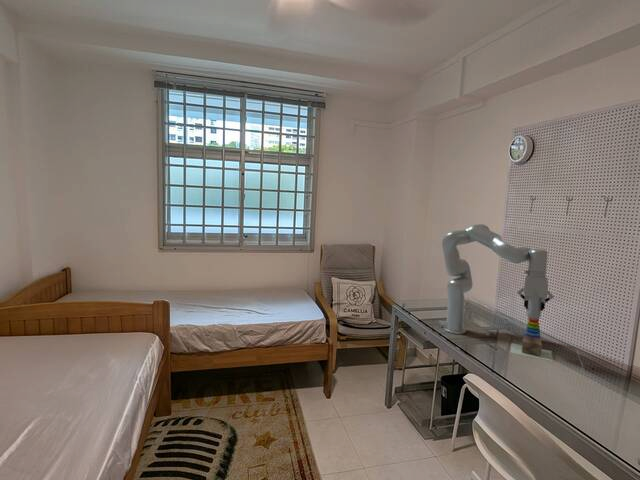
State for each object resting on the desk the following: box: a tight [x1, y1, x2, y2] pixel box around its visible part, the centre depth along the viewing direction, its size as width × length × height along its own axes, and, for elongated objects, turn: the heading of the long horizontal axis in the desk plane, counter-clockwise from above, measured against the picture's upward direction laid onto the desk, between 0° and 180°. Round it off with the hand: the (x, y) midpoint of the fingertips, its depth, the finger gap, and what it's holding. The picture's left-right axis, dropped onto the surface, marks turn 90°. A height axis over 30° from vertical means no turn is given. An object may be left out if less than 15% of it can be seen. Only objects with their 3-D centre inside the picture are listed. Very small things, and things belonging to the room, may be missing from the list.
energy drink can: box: [525, 292, 542, 320], centre depth 171 cm, size 6×6×15 cm
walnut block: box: [521, 335, 543, 357], centre depth 173 cm, size 8×8×6 cm
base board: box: [510, 342, 554, 362], centre depth 174 cm, size 18×13×1 cm
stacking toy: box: [524, 317, 542, 340], centre depth 187 cm, size 8×8×19 cm
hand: (533, 308), depth 171 cm, fingers closed on energy drink can, 6 cm apart
